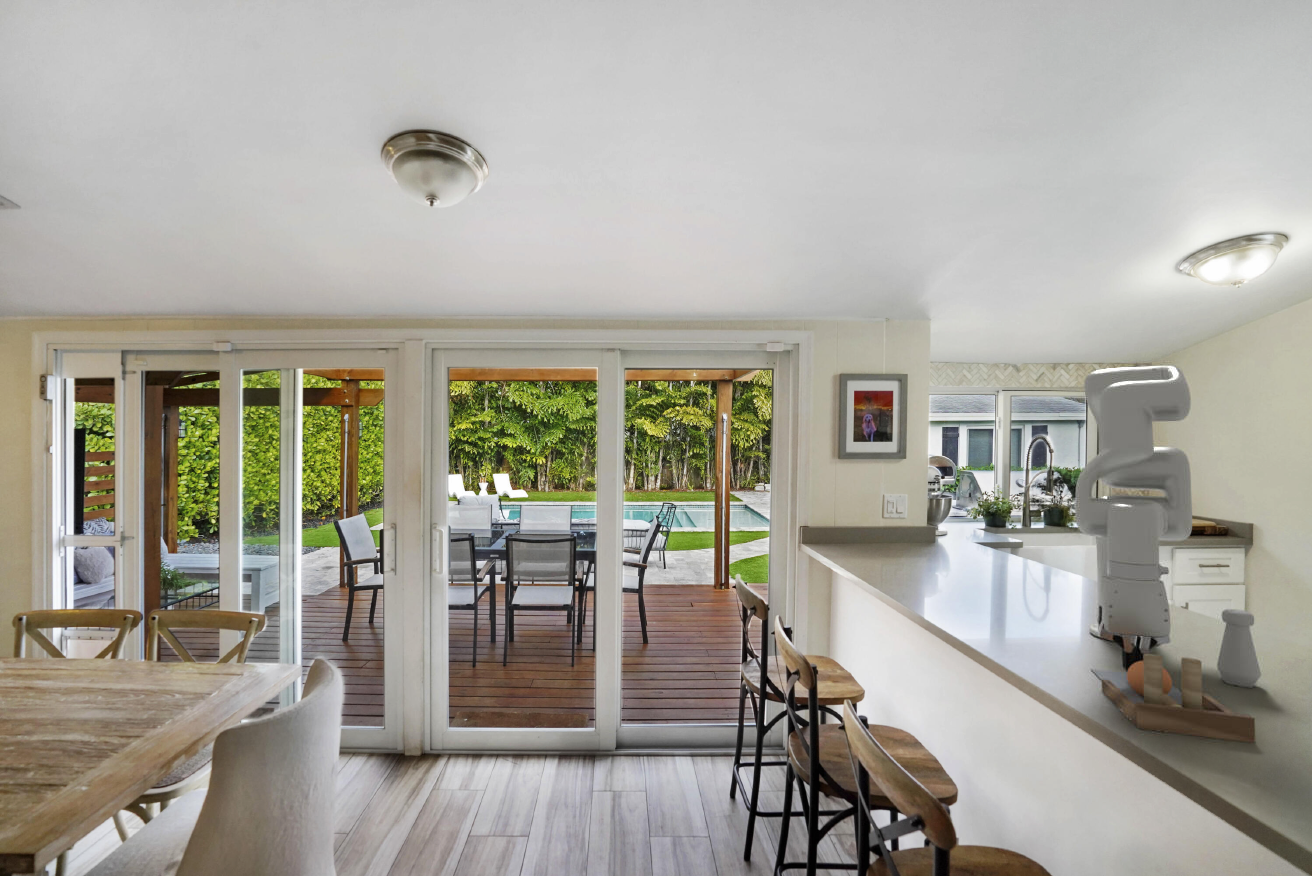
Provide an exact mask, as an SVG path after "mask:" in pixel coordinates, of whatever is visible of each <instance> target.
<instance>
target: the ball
mask: <svg viewBox="0 0 1312 876" xmlns="http://www.w3.org/2000/svg"><path fill="white" fill-rule="evenodd" d="M1126 673H1127V679H1128V682H1129V684H1130V686H1131V687H1132V688H1133V690H1134V691H1136V692H1137V693H1138V694H1140V695H1142V696H1144V673H1143V661H1138V662H1136V663H1134V664H1132V665H1131V666H1130V667H1129V669H1128V672H1127V671H1126ZM1172 685H1173V682H1172V677H1171V676H1170V673H1169V672H1168V671H1167V669H1165V668H1164V667H1163V694H1168V693H1169V692H1170V690H1171V687H1172Z"/></svg>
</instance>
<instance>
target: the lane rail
mask: <svg viewBox="0 0 1312 876" xmlns="http://www.w3.org/2000/svg"><path fill="white" fill-rule="evenodd" d="M1101 691H1102V692H1103V693H1104V694H1105V695H1106V696H1107V697H1108V698H1109V700H1111V701H1112V702H1114V703H1115V704H1116V705H1117V706H1118V707H1119V708H1120V709H1121V710H1122V711H1123V712H1124V713H1125V714H1126V715H1125V714H1124V713H1123V712H1122V711H1121V710H1120V709H1119V708H1118V707H1117V706H1116V705H1115V704H1114V703H1113V704H1114V705H1115V706H1116V707H1117V708H1118V709H1119V710H1120V711H1121V712H1122V713H1123V714H1124V715H1125V716H1126V717H1127V716H1128V717H1127V718H1128V720H1130V719H1131V720H1130V721H1131V722H1132V723H1133V725H1134V726H1135V725H1136V726H1137V727H1138V728H1139V730H1145V731H1146V730H1148V731H1154V730H1157V731H1156V732H1162V731H1167V732H1166V733H1171V732H1173V733H1172V734H1179V733H1181V735H1188V736H1189V735H1190V736H1196V737H1197V736H1198V737H1205V738H1211V739H1212V738H1213V739H1222V740H1227V741H1228V740H1229V741H1235V742H1236V741H1237V742H1246V743H1252V744H1256V736H1255V735H1256V730H1255V729H1256V726H1255V724H1256V722H1255V721H1256V718H1255V717H1254V716H1252V715H1251V714H1246V713H1244V714H1243V713H1236V712H1232V711H1231V710H1229V709H1228V708H1227V707H1225V706H1224V705H1223V704H1222V703H1220V702H1219V701H1217V699H1215V698H1214V697H1212V696H1211V695H1210V694H1209V693H1206V692H1205V691H1203V690H1202V709H1203V710H1201V709H1192V708H1183V707H1174V706H1165V705H1156V704H1147V703H1138V702H1135V705H1134V704H1133V703H1132V702H1131V701H1130V700H1129V699H1128V698H1127V697H1126V696H1125V695H1124V694H1123V693H1122V692H1121V691H1120V690H1119V689H1118V688H1117V687H1116V686H1115V685H1114V684H1113V683H1112V682H1111V681H1110V680H1107V679H1102V681H1101ZM1136 726H1135V727H1136ZM1137 727H1136V728H1137ZM1138 728H1137V729H1138ZM1158 730H1159V731H1158Z"/></svg>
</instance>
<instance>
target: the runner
mask: <svg viewBox="0 0 1312 876" xmlns="http://www.w3.org/2000/svg"><path fill="white" fill-rule="evenodd" d="M1090 671H1091V672H1092V673H1093V674H1094V676H1096V677H1097V678H1098V679H1099V680H1100V681H1101V682H1102V679H1107V680H1110V681H1111V682H1112V683H1113V684H1114V685H1115V686H1116V687H1117V688H1118V689H1119V690H1120V691H1121V692H1122V693H1123V694H1124V695H1125V696H1126V697H1127V698H1128V699H1129V700H1130V701H1131V702H1132V703H1133V704H1134V705H1135V702H1138V703H1144V696H1142V695H1140V694H1138V693H1137V692H1136V691H1134V690H1133V688H1132V687H1131V686H1130V684H1129V682H1128V679H1127V672H1123V671H1112V670H1103V669H1093V668H1092V669H1091V668H1090ZM1167 695H1169V696H1170V697H1171V698H1172V699H1173V700H1175V701H1176V702H1177V703H1178V704H1179V705H1181V706H1182V691H1180V690H1179V689H1178V688H1176V687H1175V686H1174V685H1173V684H1172V687H1171V690H1170V692H1169V693H1168V694H1167ZM1202 710H1204V708H1202Z"/></svg>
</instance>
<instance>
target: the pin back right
mask: <svg viewBox="0 0 1312 876" xmlns="http://www.w3.org/2000/svg"><path fill="white" fill-rule="evenodd" d="M1163 665H1164V663H1163V657H1162V656H1160V655H1157V654H1153V653H1152V654H1151V653H1147V654H1144V655H1143V673H1144V703H1147V704H1156V705H1163V668H1164V667H1163Z"/></svg>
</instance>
